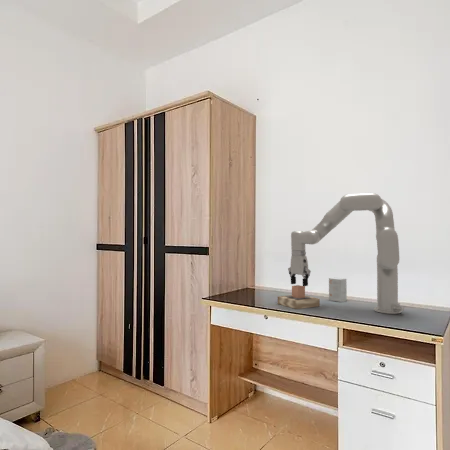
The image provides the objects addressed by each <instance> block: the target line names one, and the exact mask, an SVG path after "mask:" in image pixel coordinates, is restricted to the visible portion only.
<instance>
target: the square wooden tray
mask: <svg viewBox="0 0 450 450" xmlns="http://www.w3.org/2000/svg"><path fill="white" fill-rule="evenodd" d="M277 305H281V306H284V307H288V308H290V309H294V310H300V309H309V308H310V309H311V308H316V307H317V308H318V307H320V305H321V304H320V298H318V297H313V296H310V295H309V296H308V295H305V298H295V297H292V294H290V295H281V296H279V295H278V296H277Z"/></svg>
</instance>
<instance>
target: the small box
mask: <svg viewBox="0 0 450 450" xmlns="http://www.w3.org/2000/svg"><path fill="white" fill-rule="evenodd" d="M347 285H348V284H347V278H342V277H330V278H329V277H328V301H332V302H333V301H334V302H338V303H344V302H346V301H347V300H348V299H347V293H348V292H347Z"/></svg>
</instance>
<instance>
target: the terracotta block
mask: <svg viewBox="0 0 450 450" xmlns="http://www.w3.org/2000/svg"><path fill="white" fill-rule="evenodd" d="M291 295H292V297H295V298H305V296H306V286H303V285H299V284H297V285H296V284H295V285H291Z"/></svg>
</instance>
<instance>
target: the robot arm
mask: <svg viewBox="0 0 450 450" xmlns="http://www.w3.org/2000/svg"><path fill="white" fill-rule="evenodd" d="M354 211H355V212H358V211H361V212H362V211H369V212H372V213H373V214H374V218H375V219H374V221H375V230H376V231H375V232H376V233H375V238H376V239H375V240H376V247H377V248H376V249H377V255H376V284H377V285H376V292H377V293H376V296H377V297H376V303H377V305H376V306H375V307H374V308H373V311H375V312H376V313H381V314H386V315H387V314H388V315H389V314H390V315H396V314H397V315H398V314H401V313H402V312H404V311H405V307H404V306H401V303H399V293H398V292H399V288H398V287H399V284H398V283H399V282H398V281H399V276H398V275H399V272H398V271H399V269H398V265H399V263H400V246H399V235H398V233H397V231H396V230H395V221H394V220H395V219H394V213H393V209H392V207H391V206H390V204H389V203H388V202H387V201H386V200H384V199H383V198H381V196H380V195H379V194H377V193H371V192H370V193H369V192H368V193H366V192H365V193H347V194H344V195H342V197H341V198H340V200H339V201H338V202H337V203H336V204H335V205H334V206H333V207H332V208H330V210H328V211H327V212H326V213H325V215H324V216H323V217H322V219H321V220H320V222H319V223H318V224H316V226H315V227H313V228H312V229H311V230H305V231H302V230H301V231H300V230H298V231H297V230H296V231H295V230H294V231H292V232H291V233H290V234H291V235H290V240H291V242H290V245H291V246H290V247H291V257H290V266H289V267H288V268H287V270H288V271H287V272H288V274H289V277H290V284H291V285H296V284H297V277H296V276H297V275H298V276H299V275H300V276H302V286H305V287H308V286H309V277H310V275H311V272H312V271H311V270H310V268H309V261H308V257H307V255H306V253H307V252H306V245H316V244H319V242H320V241H321V240H323V239H324V238H325V236H328V234H329V233H330V232H331V231H332V230H334V229H335V228H336V227H337V226H338V225H339V224H341V222H342V221H344V220H345V219H346V218H347V217H348V216H349V215H350V214H351V213H352V212H354Z"/></svg>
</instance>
